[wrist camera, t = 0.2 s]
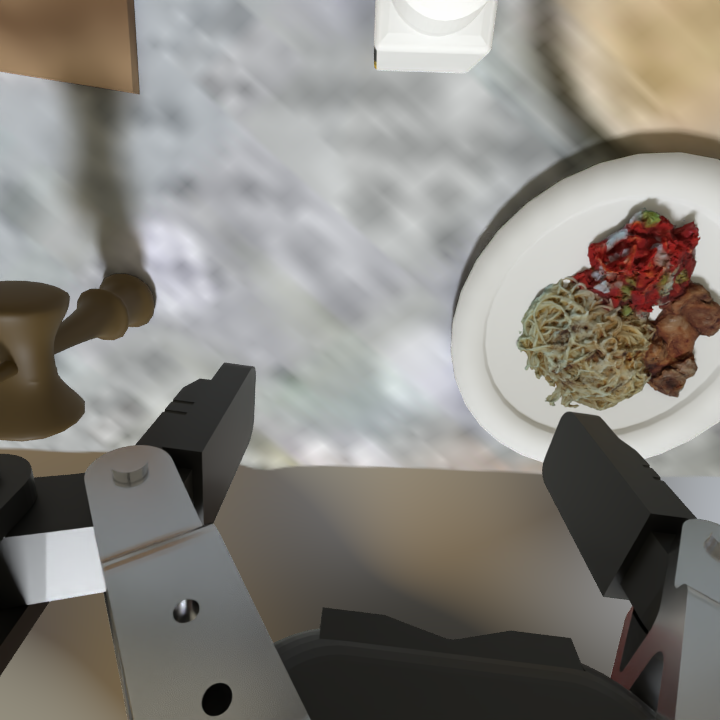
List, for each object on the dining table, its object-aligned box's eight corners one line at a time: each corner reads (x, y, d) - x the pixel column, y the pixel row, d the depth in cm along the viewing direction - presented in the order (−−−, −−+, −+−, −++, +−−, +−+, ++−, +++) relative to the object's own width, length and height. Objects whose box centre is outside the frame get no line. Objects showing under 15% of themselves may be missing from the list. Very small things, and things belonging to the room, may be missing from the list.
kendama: (102, 339, 43) (-98, 472, 25) (95, 241, 39) (-153, 314, 21) (163, 350, 43) (9, 489, 25) (162, 253, 39) (-23, 337, 21)
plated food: (483, 483, 49) (491, 505, 46) (411, 224, 37) (414, 230, 34) (774, 415, 44) (804, 435, 41) (795, 92, 33) (839, 85, 29)
